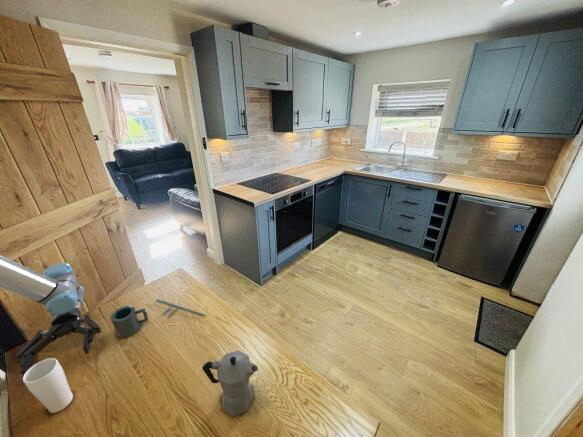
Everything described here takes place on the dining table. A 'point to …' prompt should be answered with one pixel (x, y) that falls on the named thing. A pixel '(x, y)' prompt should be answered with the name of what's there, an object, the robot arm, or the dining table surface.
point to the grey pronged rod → (177, 306)
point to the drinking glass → (49, 384)
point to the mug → (127, 321)
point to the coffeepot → (233, 380)
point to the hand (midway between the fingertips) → (56, 362)
